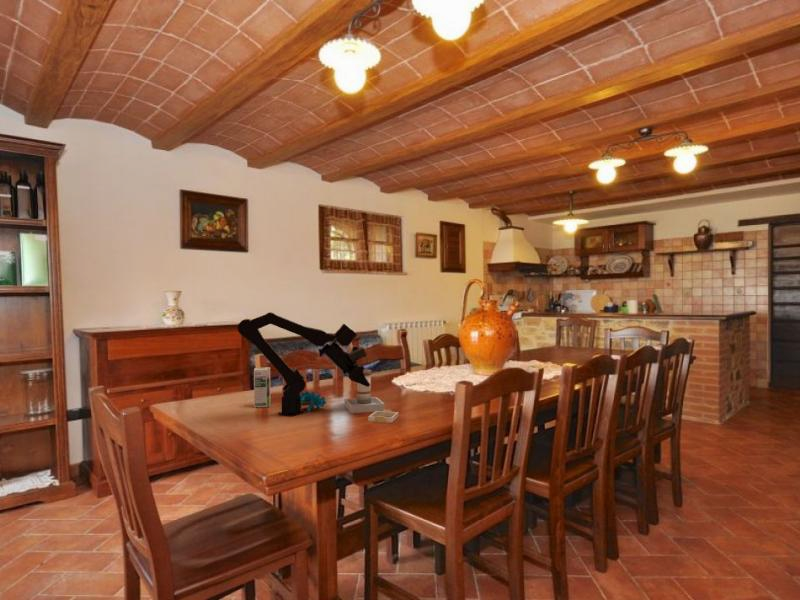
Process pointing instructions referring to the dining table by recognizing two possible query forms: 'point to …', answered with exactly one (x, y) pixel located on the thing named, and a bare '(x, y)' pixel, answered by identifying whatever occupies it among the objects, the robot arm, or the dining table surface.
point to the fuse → (364, 389)
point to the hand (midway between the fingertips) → (367, 384)
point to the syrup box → (261, 387)
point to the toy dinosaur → (312, 400)
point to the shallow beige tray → (383, 416)
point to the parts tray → (364, 405)
